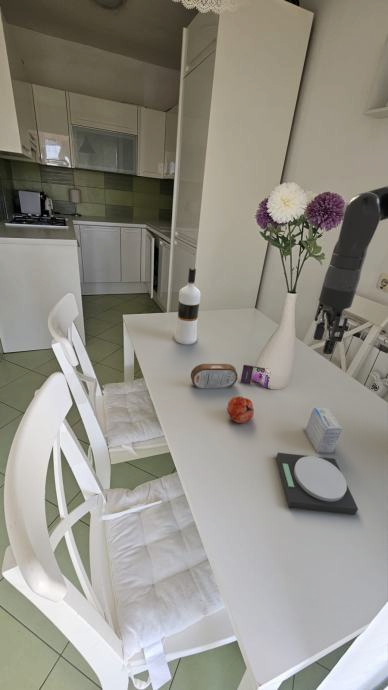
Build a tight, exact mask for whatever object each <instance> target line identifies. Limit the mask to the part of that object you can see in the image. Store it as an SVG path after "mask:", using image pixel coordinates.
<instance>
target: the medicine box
mask: <svg viewBox="0 0 388 690" xmlns="http://www.w3.org/2000/svg"><path fill="white" fill-rule="evenodd" d="M342 432H343V427H342V426H341V424H340V423H339V421H338V420H337V419H336V417H335V416H334V414H333V413H332V411H331V410H330V409H329V408H327V407H312V410H311V413H310V415H309V418H308V421H307V424H306V426H305V433H306V434H307V436H308V438H309V440H310V442H311V444H312V445H313V447H314V449H315V451H316V452H317V453H334V451H335V448H336V446H337V443H338V441H339V439H340V436H341V434H342Z"/></svg>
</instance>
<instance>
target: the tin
mask: <svg viewBox="0 0 388 690" xmlns="http://www.w3.org/2000/svg"><path fill="white" fill-rule="evenodd" d="M236 369H237V368H236V367H235V366H234V365H232V364H229V363H201V364H198V365H196V366H195V367H193V369H192V370H191V373H190V379H191V383H192V384H193V386H195V388H198V389H212V388H213V389H215V388H217V389H218V388H220V389H221V388H231V387H233V386H234V385H235V384H236V382H237V380H238V373H237V370H236Z"/></svg>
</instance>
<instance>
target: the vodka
mask: <svg viewBox="0 0 388 690" xmlns="http://www.w3.org/2000/svg"><path fill="white" fill-rule="evenodd" d="M196 272H197V269H196V268H195V267H189V268H188V277H187V285H185V286H183V287H182V288H180V289H179V292H178V307H177V317H176V327H175V332H174V337H173V338H174V341H175V342H177V343H178V344H180V345H181V344H182V345H193V344H195V343H197V340H198V334H197V328H198V322H199V309H200V303H201V297H202V293H201V291H200V289H199V288H198V287H196V286H195V283H196V282H195V281H196Z"/></svg>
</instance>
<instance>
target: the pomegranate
mask: <svg viewBox="0 0 388 690" xmlns="http://www.w3.org/2000/svg"><path fill="white" fill-rule="evenodd" d="M253 407H254V405H253V403H252V400H251V399H250V398H247V397H243V396H233V397H232V398H231V399H229V401H228V403H227V408H226V412H227V414H228V415H229V418H230V420H231V421H233V422H235V423H237V424H244V423H247V422H250V421H251V420H252V419H253V418H254V415H255V410H254V408H253Z"/></svg>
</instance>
